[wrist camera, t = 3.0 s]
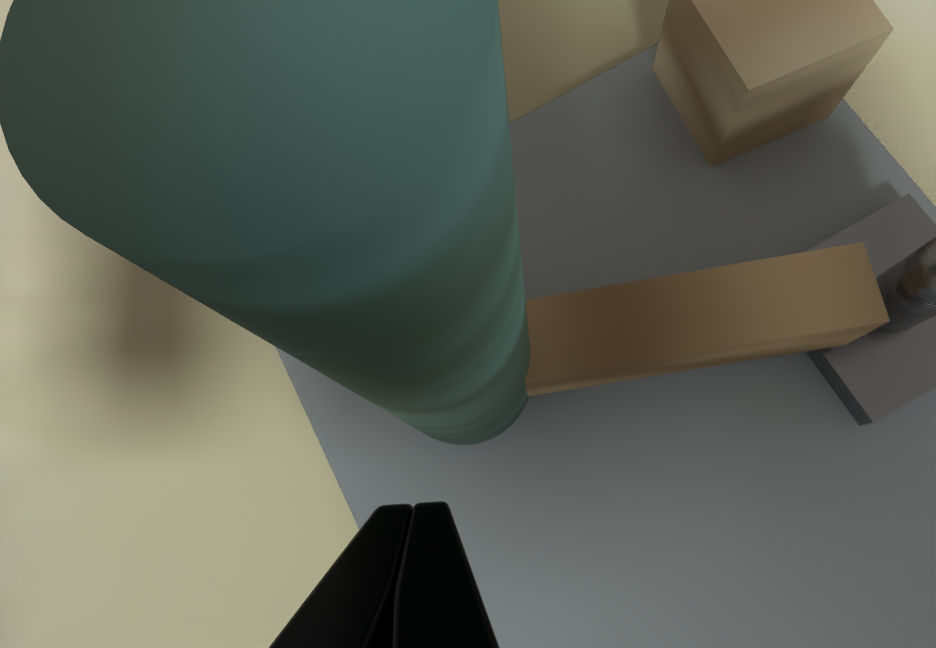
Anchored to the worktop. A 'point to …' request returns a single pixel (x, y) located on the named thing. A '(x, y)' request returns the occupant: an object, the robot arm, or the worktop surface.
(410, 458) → the yard mat
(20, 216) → the worktop surface
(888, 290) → the post on square base
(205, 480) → the worktop surface
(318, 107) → the gate
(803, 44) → the block
